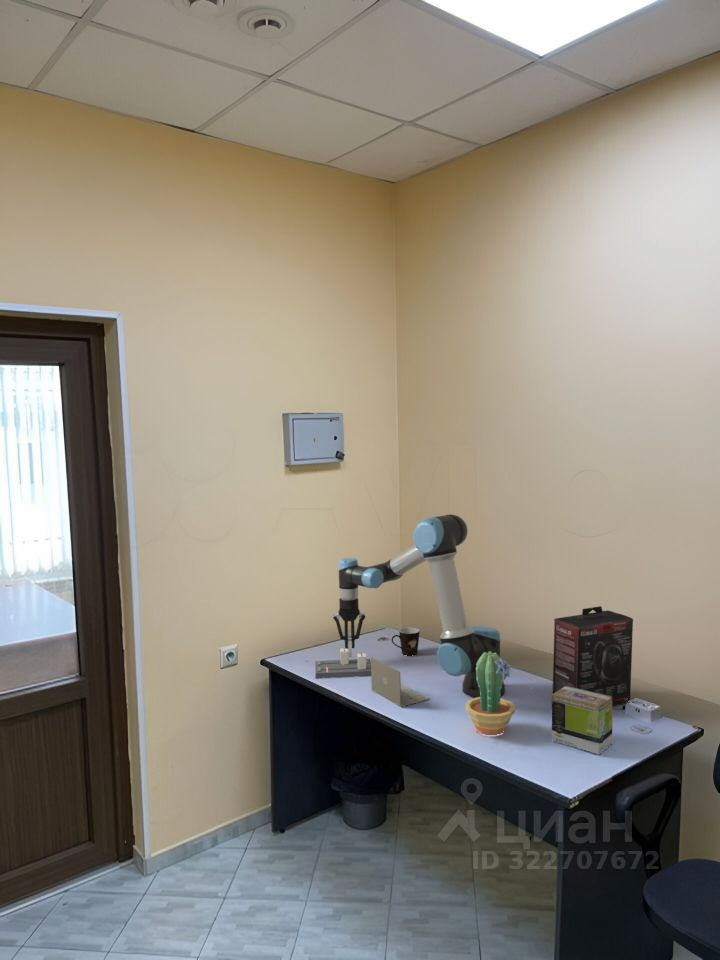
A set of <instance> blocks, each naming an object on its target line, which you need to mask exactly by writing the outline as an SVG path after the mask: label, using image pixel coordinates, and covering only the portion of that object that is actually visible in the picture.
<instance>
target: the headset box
mask: <svg viewBox="0 0 720 960" xmlns="http://www.w3.org/2000/svg"><path fill="white" fill-rule="evenodd" d="M592 611H594V612H592ZM553 620H554V621H553V622H554V627H553V628H554V632H553V664H552V665H553V668H552V671H553V672H552V694H554V693H555V692H557V691H558V690H560V689H562V688H563V687H565V686H569V687H573V688H577V689H582V690H586V691H590V692H595V693H599V694H603V695H608V696H611V697H612V705H615V706H618V705H617V704H620V705H624V704H627V703H626V702H628V701H629V700H630V701H631V689H632V684H631V683H632V681H631V680H632V659H633V631H634V629H633V628H634V619H633V618H632V617H631V616H629V615H628V616H627V615H625V614H621V613H617V612H614V611H611V610H607V609H606V610H603V607H602V606H601V605H599V606H593V607H587V608H582V613H581V614H577V615H571V616H563V617H557V618H553ZM628 703H629V702H628Z"/></svg>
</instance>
